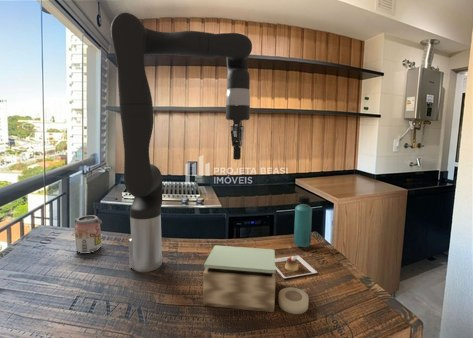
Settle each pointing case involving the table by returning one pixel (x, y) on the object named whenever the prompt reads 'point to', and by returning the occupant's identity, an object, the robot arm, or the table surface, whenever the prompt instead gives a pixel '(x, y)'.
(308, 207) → the beverage bottle
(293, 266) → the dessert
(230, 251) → the lid
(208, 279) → the crate
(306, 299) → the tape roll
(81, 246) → the beverage can
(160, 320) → the table surface
